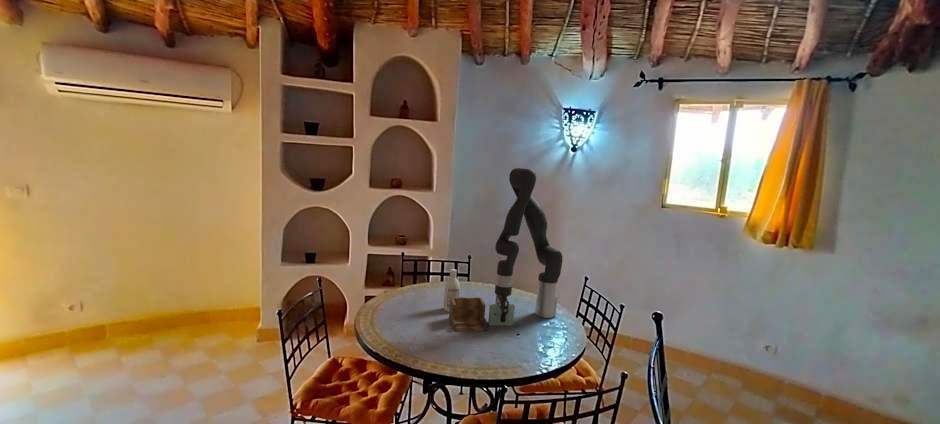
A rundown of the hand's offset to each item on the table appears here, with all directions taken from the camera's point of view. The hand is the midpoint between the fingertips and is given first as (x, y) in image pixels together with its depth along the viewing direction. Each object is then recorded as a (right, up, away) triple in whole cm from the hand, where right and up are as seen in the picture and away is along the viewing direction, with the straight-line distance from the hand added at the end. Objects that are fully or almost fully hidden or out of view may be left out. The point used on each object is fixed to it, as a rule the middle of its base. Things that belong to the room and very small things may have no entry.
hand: (500, 318), depth 228 cm
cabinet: (-15, -2, -3) cm, 16 cm away
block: (0, -3, 0) cm, 3 cm away
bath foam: (-23, +1, +13) cm, 27 cm away
